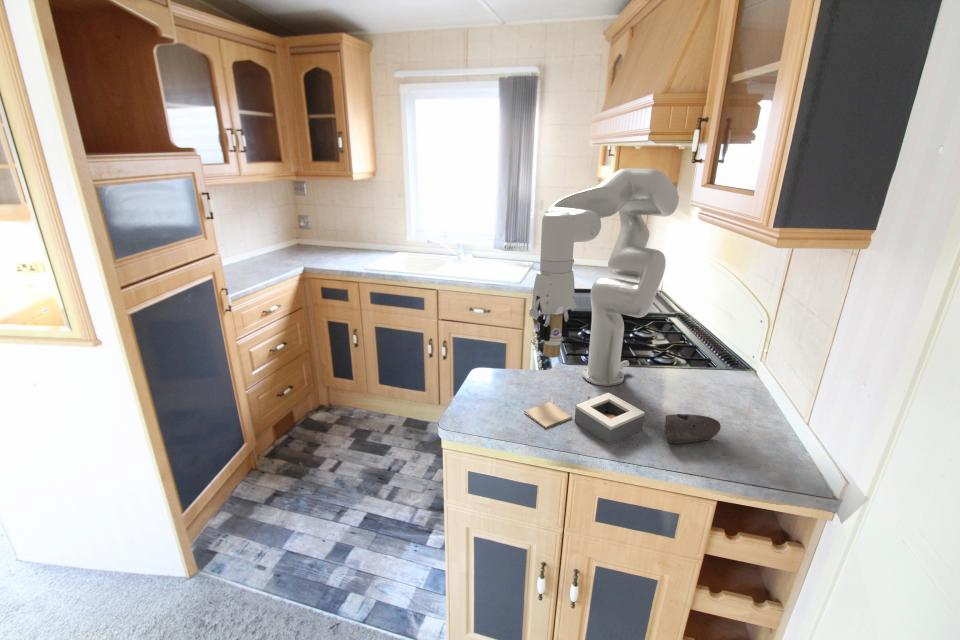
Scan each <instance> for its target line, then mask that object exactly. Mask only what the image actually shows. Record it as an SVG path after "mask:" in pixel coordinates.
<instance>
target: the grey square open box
mask: <svg viewBox="0 0 960 640" xmlns="http://www.w3.org/2000/svg"><path fill="white" fill-rule="evenodd" d="M604 412H605V413H606V412H608V413H610V414H611V415H614V416H616V417H614V418H612V419H610V418H608V417H607V416H605V415H603V414H604ZM645 416H646V412H645V411H643V410H641V409H639V408H638V407H636V406H634V405H633V404H630V403H628V402H627V401H625V400H623V399H621V398H620V397H618V396H616V395H614V394H612V393H611V392H605V393H604V394H601V395H598V396H596V397H593V398H590V399H588V400H586V401H583V402H580V403H577V404H575V411H574V423H576V424H577V423H578V425H579V426H580V427H582V428H583V429H585V430H587V431H588V432H589V433H591V434H592V435H594V436H595V437H597V438H599V439H600V440H602V441H603V442H604V443H606V444H607V445H609V446H611V445H612V444H614V443H616V442H618V441H620V440H622V439H625V438H627V437H629V436H632V435H634V434H636V433H638V432H641V431H642V430H643V428H644V424H645V423H644V421H645Z"/></svg>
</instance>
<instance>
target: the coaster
mask: <svg viewBox="0 0 960 640" xmlns="http://www.w3.org/2000/svg"><path fill="white" fill-rule="evenodd" d="M524 412H525V413H527V414H528V415H529V416H530V417H532V418H533V419H534V420H535V421H534V420H533V419H532V418H531V419H532V420H533V421H534V422H536V421H537V422H538V423H539V425H540V424H541V425H542V426H541V425H540V426H541V427H542V428H544V427H545V428H546V429H548V428H547V427H549V428H551V427H554V426H556V425H558V423H559V424H561V423H560V422H562V423H564V422H566V420H567V421H569V420H571V419H573V416H572V415H571V414H569V413H568V412H566V411H564V410H563V409H561V408H560V407H559V406H557V405H555V404H554V403H553V402H551V401H547V402H546V403H543V404H540V405H537V406H534V407H531V408H529V409H528V408H527V409H526V410H523V413H524ZM525 413H524V414H525ZM528 415H527V416H528ZM529 416H528V417H529ZM530 417H529V418H530ZM537 422H536V423H537ZM538 423H537V424H538ZM555 424H556V425H555ZM553 425H554V426H553ZM550 426H551V427H550ZM545 428H544V429H545Z"/></svg>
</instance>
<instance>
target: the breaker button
mask: <svg viewBox="0 0 960 640" xmlns="http://www.w3.org/2000/svg"><path fill="white" fill-rule="evenodd" d="M602 414H603V415H605V416H607V417H608V418H610V419H612V418H614V417H617V416H615V415H613V414H612V413H610V414H609V413H602Z"/></svg>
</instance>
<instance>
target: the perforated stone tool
mask: <svg viewBox="0 0 960 640" xmlns="http://www.w3.org/2000/svg"><path fill="white" fill-rule="evenodd" d="M721 426H722V425H721V422H719V420H717V419H715V418H713V417H710V416H706V415H699V414H689V413H687V414H686V413H677V414H676V413H675V414H666V415H665V422H664V428H665V431H664V436H665V439H666V442H667V443H672V444H689V443H697V442H702V441H708V440H709V439H711V438H713V437H715V436H717V434H719V433H720V431H721V428H722V427H721Z"/></svg>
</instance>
